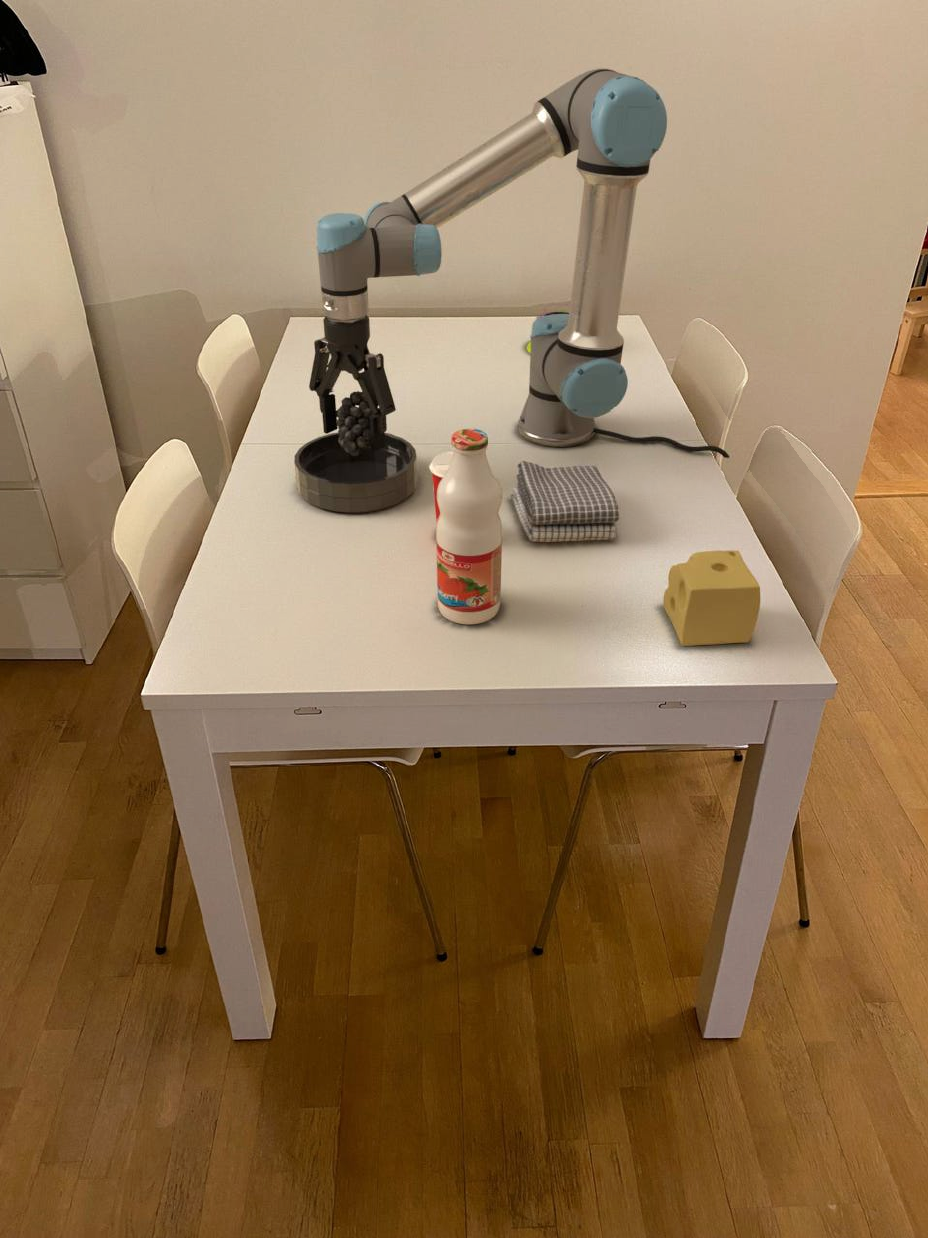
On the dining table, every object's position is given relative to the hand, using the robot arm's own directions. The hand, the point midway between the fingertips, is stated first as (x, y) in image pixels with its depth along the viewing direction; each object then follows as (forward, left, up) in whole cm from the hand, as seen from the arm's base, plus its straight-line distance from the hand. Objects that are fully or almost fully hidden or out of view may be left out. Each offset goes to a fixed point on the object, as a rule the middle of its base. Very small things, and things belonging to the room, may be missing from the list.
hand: (354, 439), depth 175 cm
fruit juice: (-40, +18, -9) cm, 45 cm away
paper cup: (-25, +3, -9) cm, 27 cm away
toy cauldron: (+11, -81, -9) cm, 82 cm away
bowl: (0, 0, -9) cm, 9 cm away
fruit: (0, 0, -1) cm, 1 cm away
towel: (-36, -13, -9) cm, 40 cm away
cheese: (-70, 0, -9) cm, 71 cm away
